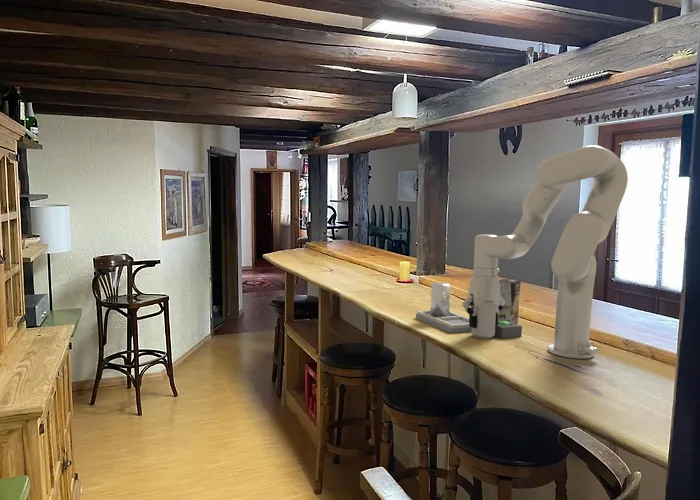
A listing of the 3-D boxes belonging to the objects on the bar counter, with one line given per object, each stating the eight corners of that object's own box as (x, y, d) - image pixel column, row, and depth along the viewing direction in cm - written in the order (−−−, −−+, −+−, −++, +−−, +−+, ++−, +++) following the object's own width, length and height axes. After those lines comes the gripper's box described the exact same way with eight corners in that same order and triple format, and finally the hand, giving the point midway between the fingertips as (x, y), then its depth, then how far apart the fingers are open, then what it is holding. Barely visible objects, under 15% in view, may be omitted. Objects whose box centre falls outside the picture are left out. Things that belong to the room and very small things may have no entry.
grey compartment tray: (482, 330, 183) (483, 323, 183) (450, 333, 178) (451, 325, 177) (445, 316, 204) (445, 309, 204) (415, 318, 199) (416, 311, 198)
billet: (452, 317, 194) (454, 285, 193) (436, 318, 191) (438, 285, 190) (442, 313, 200) (444, 282, 199) (426, 314, 197) (428, 282, 196)
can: (492, 334, 178) (494, 298, 177) (496, 339, 170) (498, 302, 169) (469, 333, 178) (471, 297, 177) (472, 338, 171) (474, 301, 170)
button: (511, 331, 177) (511, 322, 177) (503, 332, 176) (503, 323, 176) (504, 329, 180) (505, 320, 180) (496, 330, 179) (496, 321, 179)
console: (521, 336, 176) (522, 326, 176) (501, 338, 173) (502, 327, 173) (505, 330, 184) (505, 320, 183) (486, 332, 180) (486, 322, 180)
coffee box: (511, 327, 188) (514, 282, 187) (493, 325, 191) (496, 280, 190) (518, 323, 196) (521, 279, 194) (500, 320, 199) (503, 277, 198)
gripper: (499, 270, 180) (497, 322, 181) (456, 272, 173) (454, 325, 174) (514, 273, 173) (512, 327, 174) (470, 275, 166) (467, 331, 167)
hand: (483, 326), depth 174 cm, fingers closed on can, 7 cm apart
